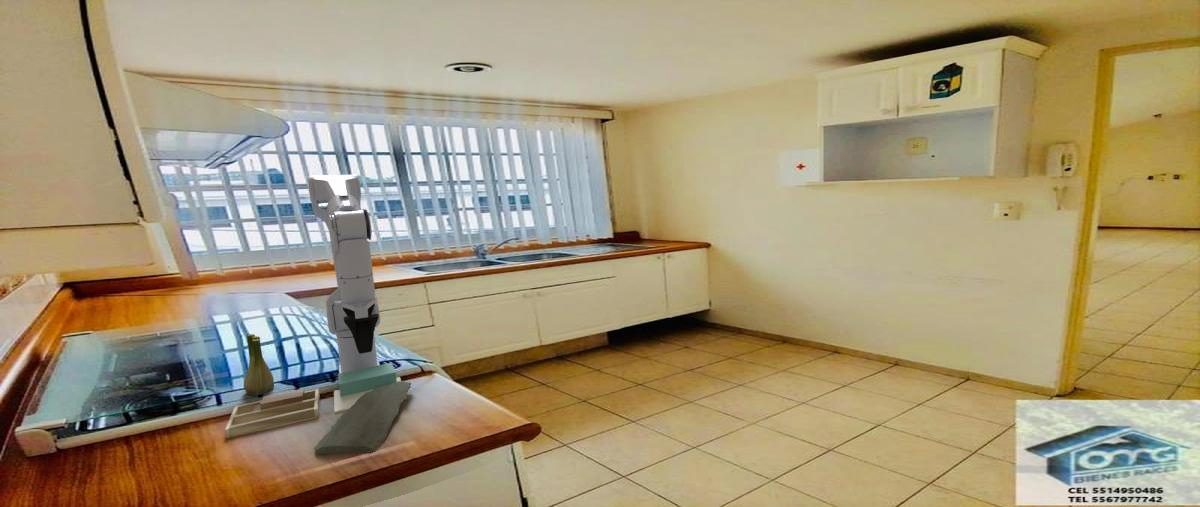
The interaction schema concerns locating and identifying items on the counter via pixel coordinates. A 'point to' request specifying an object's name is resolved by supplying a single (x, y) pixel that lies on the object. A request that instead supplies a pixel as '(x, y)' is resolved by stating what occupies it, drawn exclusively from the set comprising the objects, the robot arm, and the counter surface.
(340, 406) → the tile
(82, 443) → the counter surface
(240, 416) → the rack
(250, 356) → the fennel bulb
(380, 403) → the stone slab
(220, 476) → the counter surface
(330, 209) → the robot arm
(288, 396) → the offcut top
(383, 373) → the board
